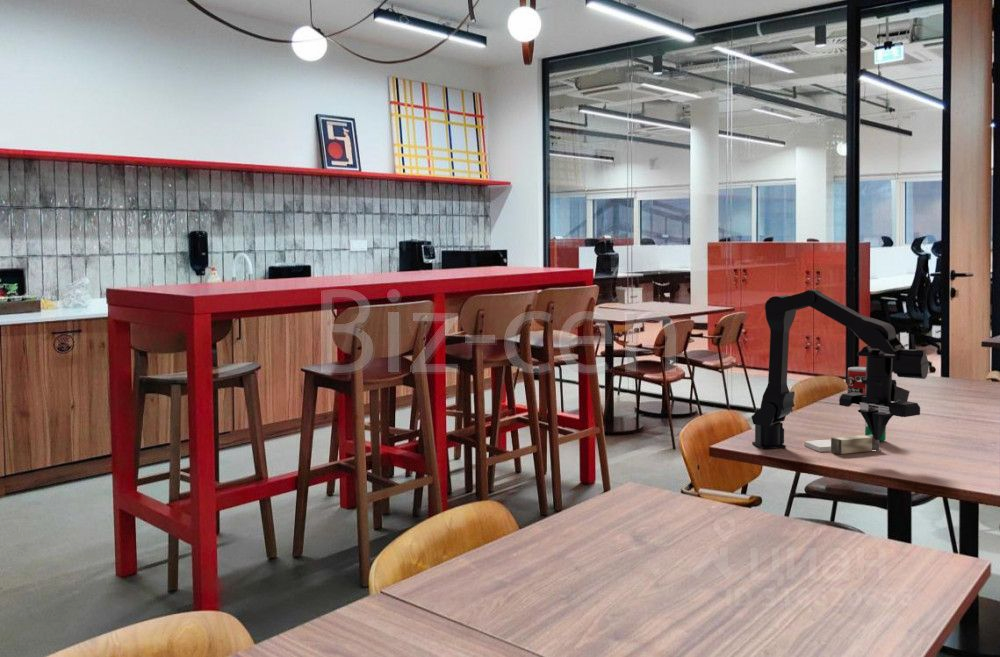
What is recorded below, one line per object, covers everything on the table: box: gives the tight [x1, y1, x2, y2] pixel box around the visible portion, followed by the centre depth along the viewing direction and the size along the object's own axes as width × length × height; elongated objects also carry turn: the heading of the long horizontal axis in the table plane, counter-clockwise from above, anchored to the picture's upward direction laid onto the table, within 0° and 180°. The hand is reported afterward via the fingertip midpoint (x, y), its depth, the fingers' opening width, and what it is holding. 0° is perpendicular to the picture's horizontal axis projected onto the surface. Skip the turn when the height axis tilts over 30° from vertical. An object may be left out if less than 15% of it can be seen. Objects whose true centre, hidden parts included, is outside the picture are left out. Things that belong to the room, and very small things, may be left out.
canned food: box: [846, 366, 866, 394], centre depth 281 cm, size 8×8×11 cm
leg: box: [830, 434, 880, 455], centre depth 210 cm, size 13×3×4 cm, turn 106°
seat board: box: [803, 439, 882, 453], centre depth 214 cm, size 16×11×1 cm, turn 101°
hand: (877, 439), depth 199 cm, fingers closed
